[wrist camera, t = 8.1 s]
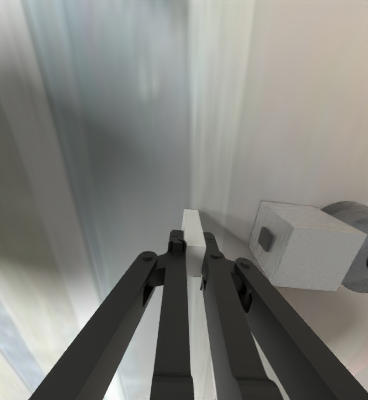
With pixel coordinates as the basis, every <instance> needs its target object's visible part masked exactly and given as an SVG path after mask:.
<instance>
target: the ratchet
mask: <svg viewBox="0 0 368 400" xmlns="http://www.w3.org/2000/svg"><path fill="white" fill-rule="evenodd" d="M321 211H323V212H325V213H327V214H329V215H331V216H333V217H334V218H336V219H338V220H340V221H342V222H344V223H346V224H348V225H350V226H352V227H354V228H356V229H358V230H360V231H361V232H363V233H365V234H367V236H366V238H365V240H364V242H363V244H362V246H361V247H360V249H359V251H358V253H357V255H356V257H355V258H354V260H353V262H352V264H351V266H350V268H349V269H348V271H347V273H346V275H345V277H344V279H343V280H342V282H341V283H342V284H343V285H344V286H345V287H346V288H348V289H350V290H352V291H355V292H360V293H368V207H367V206H364V205H362V204H359V203H356V202H349V201H345V202H338V203H335V204H332V205H329V206H327V207H325V208H323V209H322V210H321Z"/></svg>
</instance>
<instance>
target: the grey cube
mask: <svg viewBox="0 0 368 400" xmlns="http://www.w3.org/2000/svg"><path fill="white" fill-rule="evenodd" d="M366 236H367V234H365V233H363V232H361V231H360V230H358V229H356V228H354V227H352V226H350V225H348V224H346V223H344V222H342V221H340V220H338V219H336V218H334V217H333V216H331V215H329V214H327V213H325V212H323V211H321V210H319V209H317V208H315V207H313V206H304V205H294V204H285V203H276V202H266V201H261V204H260V208H259V211H258V215H257V218H256V222H255V225H254V229H253V232H252V236H251V240H250V243H249V248H250V250H251V251H252V253H253V255H254V256H255V258H256V260H257V261H258V263H259V265H260V266H261V268H262V269H263V271H264V273H265V274H266V276H267V278H268V279H269V281H270V283H271V284H272V285H273V286H278V287H290V288H301V289H313V290H324V291H337V290H338V288H339V286H340V284H341V282H342V280H343V279H344V277H345V275H346V273H347V271H348V269H349V268H350V266H351V264H352V262H353V260H354V258H355V257H356V255H357V253H358V251H359V249H360V247H361V246H362V244H363V242H364V240H365V238H366Z"/></svg>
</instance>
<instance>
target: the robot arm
mask: <svg viewBox="0 0 368 400" xmlns="http://www.w3.org/2000/svg"><path fill="white" fill-rule="evenodd" d="M201 274H202V276H203V277H202V282H201V288H200V290H202V289H203V297H204V304H205V311H206V319H207V326H208V334H209V341H210V349H211V356H212V363H213V371H214V378H215V386H216V393H217V400H284V399H283V396H282V394H281V392H280V390H279V388H278V386H277V385H276V383H275V382H274V381H272V380H271V379H269V378H268V376H267V374H266V372H265V369H264V366H263V364H262V361H261V358H260V355H259V352H258V349H257V347H256V344H255V341H254V338H255V339H256V341H257V343H258V345H259V346H260V348H261V350H262V352H263V353H264V355H265V357H266V359H267V360H268V362H269V364H270V366H271V367H272V369H273V371H274V373H275V374H276V376H277V378H278V380H279V381H280V383H281V385H282V387H283V388H284V390H285V392H286V394H287V395H288V397H289V399H290V400H368V393H367V391H366V390H365V389H364V388H363V387H362V386H361V384H360V383H359V382H358V381H357V380H356V379H355V378H354V377H353V375H352V374H351V373H350V372H349V371H348V370H347V369H346V368H345V366H344V365H343V364H342V363H341V362H340V361H339V360H338V359H337V357H336V356H335V355H334V354H333V353H332V352H331V351H330V349H329V348H328V347H327V346H326V345H325V344H324V343H323V342H322V340H321V339H320V338H319V337H318V336H317V335H316V334H315V333H314V331H313V330H312V329H311V328H310V327H309V326H308V325H307V324H306V322H305V321H304V320H303V319H302V318H301V317H300V316H299V315H298V313H297V312H296V311H295V310H294V309H293V308H292V307H291V305H290V304H289V303H288V302H287V301H286V300H285V299H284V298H283V296H282V295H281V294H280V293H279V292H278V291H277V290H276V289H275V287H274V286H273V285H272V284H271V283H270V282H269V281H268V280H267V278H266V277H265V276H264V275H263V274H262V273H261V272H260V271H259V269H258V268H257V267H256V266H255V265H254V264H253V263H252V262H251V261H249V260H248V259H245V258H238V259H236V261H235V262H233V261H230V260H227V259H225V257H224V255H223V254H222V253H221V252H219V249H218V246H217V243H216V240H215V237H214V235H213V234H212V233H210V232H203V231H202V226H201V222H200V217H199V213H198V210H192V209H184V213H183V222H182V231H181V230H172V231H171V232H170V239H169V243H168V251H167V253H165V254H163V255H160V256H157V254H156V253H154V252H151V251H146V252H142V253H141V254H140V255H139V256H138V257H137V258H136V259H135V261H134V262H133V263H132V265H131V266H130V267H129V269H128V270H127V271H126V273H125V274H124V275H123V276H122V278H121V279H120V280H119V282H118V283H117V284H116V286H115V287H114V288H113V290H112V291H111V292H110V294H109V295H108V296H107V297H106V299H105V300H104V301H103V303H102V304H101V305H100V307H99V308H98V309H97V311H96V312H95V313H94V314H93V316H92V317H91V318H90V320H89V321H88V322H87V324H86V325H85V326H84V328H83V329H82V330H81V331H80V333H79V334H78V335H77V337H76V338H75V339H74V341H73V342H72V343H71V345H70V346H69V347H68V348H67V350H66V351H65V352H64V354H63V355H62V356H61V358H60V359H59V360H58V362H57V363H56V364H55V366H54V367H53V368H52V369H51V371H50V372H49V373H48V375H47V376H46V377H45V379H44V380H43V381H42V383H41V384H40V385H39V386H38V388H37V389H36V390H35V392H34V393H33V394H32V396H31V397H30V398H29V400H103V398H104V395H105V393H106V391H107V389H108V387H109V385H110V383H111V381H112V379H113V376H114V374H115V372H116V370H117V368H118V366H119V364H120V362H121V360H122V358H123V355H124V353H125V351H126V349H127V347H128V345H129V343H130V341H131V339H132V337H133V334H134V332H135V330H136V328H137V326H138V324H139V322H140V320H141V318H142V315H143V313H144V311H145V309H146V307H147V305H148V303H149V301H150V299H151V297H152V294H153V292H154V290H155V287H156V286H161V285H164V288H163V296H162V305H161V313H160V322H159V330H158V339H157V347H156V356H155V364H154V372H153V378H152V386H151V394H150V400H194V387H193V379H192V376H191V370H190V346H189V321H188V296H187V276H194V277H201ZM251 332H252V333H251ZM252 334H253V335H252ZM253 336H254V338H253Z"/></svg>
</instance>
